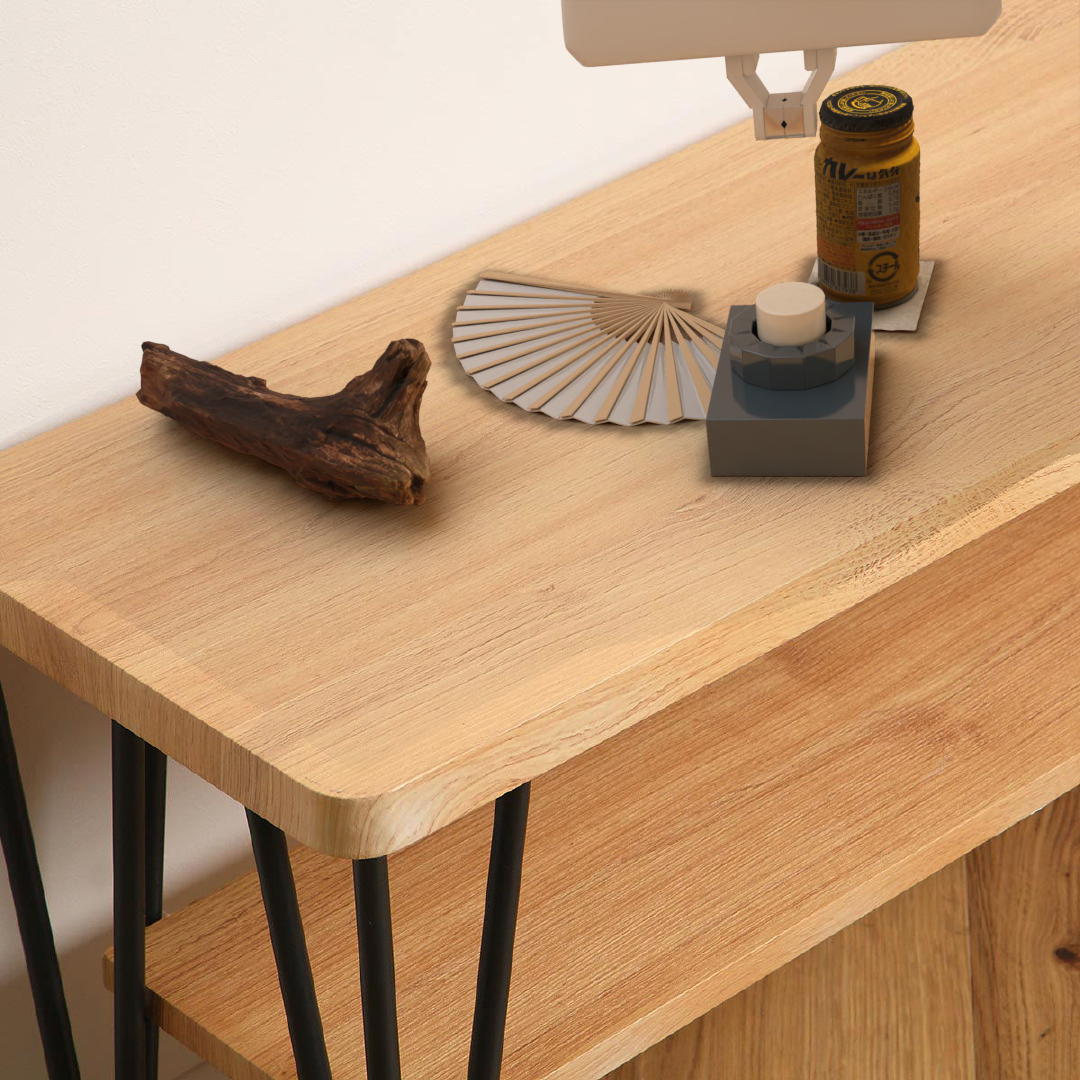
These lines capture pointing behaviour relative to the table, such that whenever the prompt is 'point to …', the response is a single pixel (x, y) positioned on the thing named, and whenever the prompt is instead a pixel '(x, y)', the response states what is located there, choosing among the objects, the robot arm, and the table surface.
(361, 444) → the driftwood
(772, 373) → the grey socket base
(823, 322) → the cream cylinder plug
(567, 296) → the hand fan
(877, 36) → the robot arm
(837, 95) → the condiment
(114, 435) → the table surface
